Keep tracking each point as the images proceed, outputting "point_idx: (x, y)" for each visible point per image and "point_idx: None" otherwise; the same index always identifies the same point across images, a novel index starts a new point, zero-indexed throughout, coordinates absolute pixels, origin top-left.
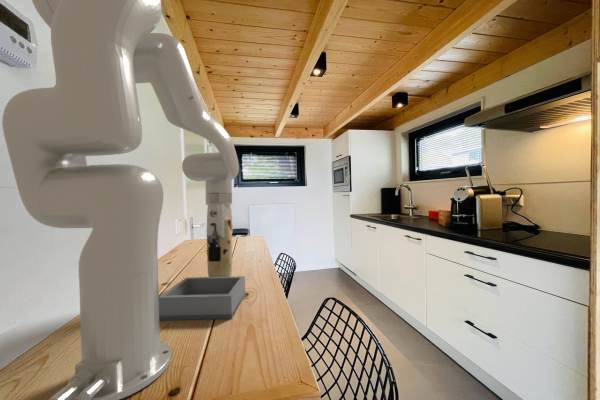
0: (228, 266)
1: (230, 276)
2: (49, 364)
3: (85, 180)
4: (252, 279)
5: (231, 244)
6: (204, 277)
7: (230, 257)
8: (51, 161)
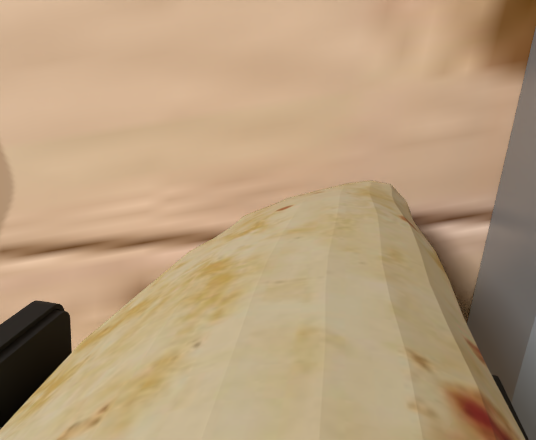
0: (421, 234)
1: (382, 187)
2: None
3: None
4: (166, 4)
5: (379, 343)
6: (519, 411)
7: (411, 249)
8: None
